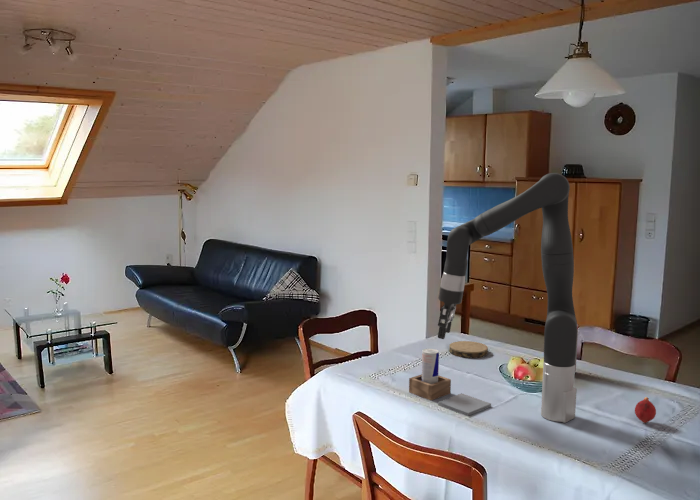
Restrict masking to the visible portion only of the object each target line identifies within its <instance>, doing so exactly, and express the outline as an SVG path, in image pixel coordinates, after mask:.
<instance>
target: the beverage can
mask: <svg viewBox="0 0 700 500" xmlns="http://www.w3.org/2000/svg"><path fill="white" fill-rule="evenodd" d="M421 355H422V357H421V360H422V361H421V374H422V381H423V382H426V383H429V384H433V383H436V382H438V375H439V369H440V367H439V365H440V362H439V360H440V353H439V350H438V349H435V348H425V349H422V354H421Z"/></svg>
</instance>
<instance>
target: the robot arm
mask: <svg viewBox="0 0 700 500" xmlns="http://www.w3.org/2000/svg"><path fill="white" fill-rule="evenodd" d="M570 190H571V186H570V182H569V180H568V179H567V177H566V176H565V175H563V174H561V173H559V172H549V173H547V174H544V175H543V176H542V177H541V178H540V179H539V180H538V181H537V182H536V183H535V184H533V185H532V186H530V187H528V189H526V190H525V191H523V192H521V193H519V194H518V195H516V196H514V197H512V198H510V199H508V200H505V201H504V202H502V203H499V204H497V205H495V206H494V207H491V208H489V209H488V210H485V211H484V212H482V213H479V214H478V215H477V216H476V217H474V218H472V219H471V220H469V221H466V222H464V223H462V224H460V225H457V226H456V227H453V228H452V229H451V230H449V231H450V232H449V233H448V235H447V242H446V251H445V252H446V255H445V256H446V257H445V262H444V268H443V273H442V276H441V280H440V286H439V294H438V298H437V299H438V300H439V301H440V302H443V306H441V308H440V313H439V318H438V322H437V326H438V333H437V338H438V339H440V340H445V339H446V333H447V334H448V333H450V332H451V327H452V323H453V321H454V319H455V315H456V314H455V313H456V309H457V305H461V304H462V302H463V296H464V292H465V291H464V290H465V285H466V275H467V273H466V272H467V269H468V259H467V258H468V252H469V247H470V245H472V244H473V243H475V242H478V241H479V240H480V239H482V238H484V237H488V236H489V235H492V234H494V233H496V232H498V231H500V230H502V229H503V228H506V227H507V226H509V225H511V224H512V223H514V222H516V221H517V220H519V219H520V218H522V217H524V216H526V215H527V214H530V213H532V212H534V211H536V210H539V209H541V213H542V229H541V230H542V231H541V241H540V242H541V243H540V244H541V245H540V254H541V255H540V256H541V257H540V258H541V269H542V275H543V279H544V284H545V288H546V293H547V294H546V295H547V311H546V319H545V325H544V333H543V335H544V338H543V339H544V340H543V364H542V365H543V366H542V367H543V369H542V386H541V387H542V388H541V407H540V414H541V416H542V418H544V419H546V420H549V421H551V422H560V423H563V424H565V423H568V422H570V421H572V420H573V419H574V420H575V419H576V406H577V393H578V392H577V391H578V390H577V388H576V387H575V373H576V372H575V360H576V361H577V358H576V344H577V345H578V340H577V324H578V321H577V316H576V312H575V306H574V297H573V285H574V278H575V277H574V275H575V274H574V273H575V269H574V268H575V265H574V264H575V263H574V259H575V258H574V247H573V246H574V245H573V240H572V239H573V238H572V233H571V229H570V223H569V197H570V196H569V195H570ZM443 322H444V323H443Z"/></svg>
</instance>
